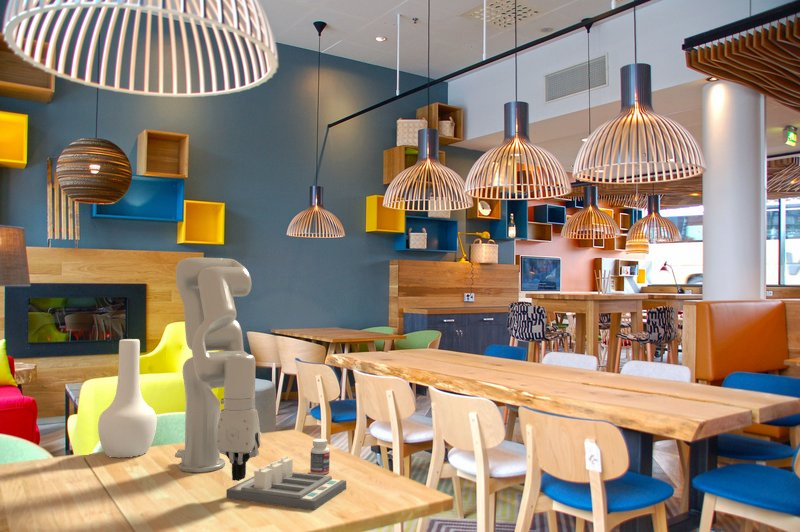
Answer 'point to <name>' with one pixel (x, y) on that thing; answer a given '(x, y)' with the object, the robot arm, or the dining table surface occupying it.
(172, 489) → the dining table surface
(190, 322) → the robot arm
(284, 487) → the switch bank
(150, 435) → the vase
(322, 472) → the pill bottle
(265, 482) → the tab
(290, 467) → the tab
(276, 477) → the tab
